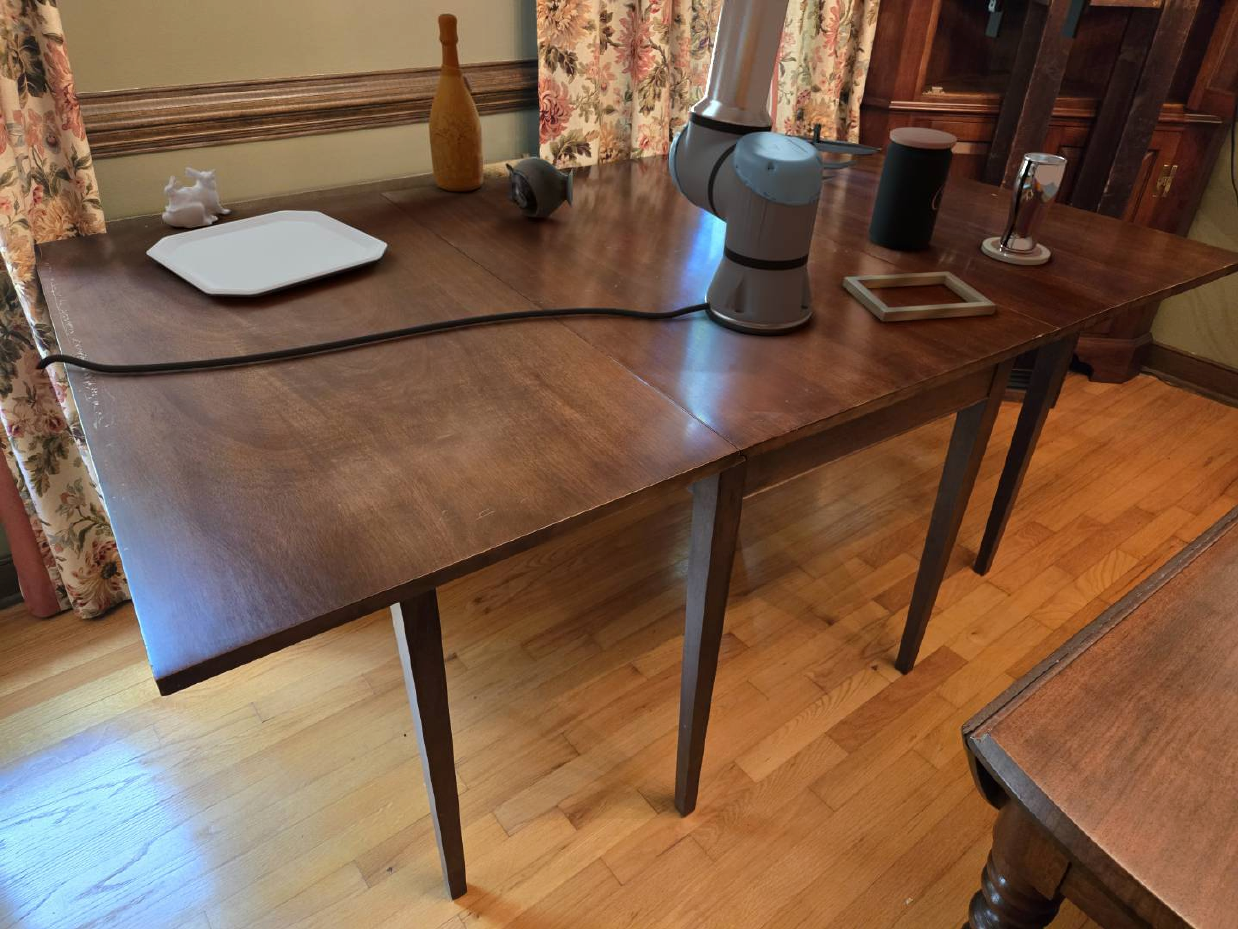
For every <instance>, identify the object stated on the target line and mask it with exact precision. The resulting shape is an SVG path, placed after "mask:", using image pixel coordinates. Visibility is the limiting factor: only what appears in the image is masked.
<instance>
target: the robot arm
mask: <svg viewBox="0 0 1238 929" xmlns="http://www.w3.org/2000/svg"><path fill="white" fill-rule="evenodd" d="M1092 1H1093V0H1071V1H1070V5H1069V8H1068V11H1067V15H1066V18H1065V21H1064V24H1063V28H1062V31H1061V33H1060V37H1064V38H1067V39H1068V38H1069V39H1077V37H1078V33H1079V30H1080V27H1081V25H1082V22H1083V19H1084V15H1087V13H1088V12H1089V9H1090V6H1091V3H1092ZM1010 2H1011V0H990V1H989V5H988V12H990V16H989V19H988V24H987V27H986V32H985V36H988V37H992V38H997V39H998V38H999V39H1000V38H1001V35H1002V31H1003V27H1004V24H1005V20H1006V17H1007V12H1008V10H1009V6H1010ZM789 3H790V0H722V2H721V7H720V12H719V18H718V24H717V28H716V34H715V38H714V46H713V50H712V56H711V61H710V67H709V72H708V77H707V83H706V87H705V94H704V96H703V97H702V99H700V100H699V101H697V102H696V103H695V104H694V105H692V106H691V110H690V114H689V121H688V122H687V123H686V124H684V126H683V127H682V129H681V130H680V131H678V132H677V134H675V137H674V138H673V141H672V143H671V145H670V149H669V150H670V151H669V153H668V154H669V156H668V168H669V173H670V177H671V180H672V182H673V184H674V186H675V187H676V189H677V190H678V192H680V194H682V195H683V196H684V197H685V198H686V199H687V200H688V202H690V203H691V204H692V205H693V206H695V207H698V208H700V209H702V210H704V211H706V212H707V213H708V214H710V215H712V216H714V217H716V218H718V219H719V220H720V221H722V222H724V223H725V224H726V226H725V233H724V242H723V253H722V256H721V260H720V262H719V264H718V266H717V268H716V271H715V273H714V275H713V278H712V280H711V282H710V284H709V286H708V289H707V291H706V293H705V298H704V302H703V303H699V304H695V305H690V306H685V307H682V308H678V309H676V310H672V311H664V312H652V311H651V312H649V311H639V310H634V309H633V310H632V309H626V308H616V307H571V308H569V307H568V308H553V309H551V308H550V309H536V310H524V311H523V310H522V311H513V312H504V313H495V314H487V315H480V316H479V315H478V316H471V317H465V318H459V319H452V320H446V321H440V322H439V321H438V322H433V323H428V324H421V325H417V326H410V327H404V328H400V329H394V330H390V331H385V332H384V331H383V332H379V333H373V334H368V335H361V336H357V337H352V338H346V339H341V340H336V341H329V342H324V343H317V344H313V345H305V346H300V347H294V348H289V349H282V350H277V351H269V352H262V353H261V352H260V353H253V354H246V355H238V356H231V357H221V358H212V359H211V358H210V359H202V360H201V359H199V360H190V361H189V360H188V361H177V362H176V361H175V362H163V363H161V362H160V363H148V364H118V365H117V364H104V363H103V364H102V363H97V362H93V361H88V360H86V359H83V358H79V357H76V356H73V355H67V354H50V355H47V356H45V357H43V358H42V359H40V360H39V362H38V363H37V364H36V365H35V367H34V370H37V371H39V370H45V369H47V367H49V366H50V365H52V364H54V363H64V364H68V365H72V366H75V367H79V368H82V369H86V370H89V371H94V372H97V373H98V372H99V373H104V374H105V373H107V374H139V373H158V372H170V371H183V370H195V369H196V370H197V369H209V368H217V367H225V366H226V367H227V366H234V365H235V366H236V365H242V364H250V363H255V362H256V363H257V362H265V361H271V360H279V359H284V358H285V359H286V358H291V357H296V356H304V355H309V354H314V353H320V352H326V351H331V350H332V351H333V350H335V349H336V350H337V349H343V348H347V347H353V346H358V345H364V344H368V343H374V342H380V341H384V340H390V339H395V338H400V337H401V338H402V337H405V336H412V335H416V334H421V333H427V332H432V331H438V330H446V329H450V328H451V329H452V328H456V327H457V328H458V327H464V326H470V325H476V324H485V323H491V322H498V321H499V322H500V321H501V322H502V321H509V320H519V319H531V318H543V317H544V318H545V317H558V316H560V317H561V316H576V315H577V316H578V315H607V316H608V315H609V316H622V317H628V318H637V319H645V320H667V319H674V318H678V317H680V316H681V317H682V316H684V315H689V314H693V313H696V312H702V311H704V313H705V314H706V315H707V316H708V317H709V319H711V320H712V321H713V322H715V323H717V324H718V325H720V326H722V327H724V328H727V329H730V330H733V331H737V332H740V333H746V334H751V335H761V336H776V335H786V334H791V333H795V332H797V331H801V330H802V329H804V328H806V327H807V326H808V325H809V323H810V322H811V319H812V315H813V309H814V308H813V307H814V306H813V296H812V290H811V284H810V276H809V271H808V262H809V256H810V251H811V246H812V240H813V235H814V230H815V226H816V225H815V224H816V219H817V214H818V209H819V203H820V199H821V194H822V189H823V185H824V184H823V180H822V178H823V175H824V170H823V167H824V163H823V162H824V159H823V156H822V153H821V151H818V150H817V149H816V148H815V147H814V146H813V145H811V144H810V143H808V142H806V141H804V140H802V139H800V138H797V137H789V136H786V135H787V134H786V133H783V132H782V133H781V132H775V131H772V129H773V124H774V120H773V118H772V117H771V115H770V113H769V111H768V110H767V103H768V99H769V98H768V97H769V93H770V89H771V84H772V80H773V76H774V71H775V66H776V62H777V57H778V53H779V48H780V45H781V44H780V43H781V40H782V36H783V31H784V27H785V20H786V17H787V12H788V8H789V5H790V4H789Z"/></svg>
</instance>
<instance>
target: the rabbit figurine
mask: <svg viewBox="0 0 1238 929" xmlns="http://www.w3.org/2000/svg"><path fill="white" fill-rule="evenodd" d="M215 173H216V168H212V169H211V170H209V171H198V170H196V169H194V168H191V167H188V166H186V167H185V173H184V176H185V177H187V178H191V179H195V180H196V181H195V184H194V185H192V186H183V187H181V188H179V189H176V188H177V187H179V186H180V185H182V184H181V183H182V182H181V180H176V181H175V182H174V180H175V176H174V175H171V176H170V177H169V182H168V184H167V185H165V186H164V190H163V193H164V195H165V197H167V198H168V205H165V211H166V212H165V213H163V214H162V215H161V218H162V220H163V222H164V223H166V224H167V225H170V226H172V227H176V228H188V229H193V228H197V227H204V226H210V225H213V222H215V221H218V220H219V218H218V217H217V216H216V215H212V212H213V213H218V214H221V215H224V216H225V215H228V214H229V213H231V212H232V210H230V209H228V208H223V206H222V205H221V204H219V203H220V202H219V201H220V199H219V197H220V196H219V194H218V192H217V188H218V186H217V181H216V176H215Z"/></svg>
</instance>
